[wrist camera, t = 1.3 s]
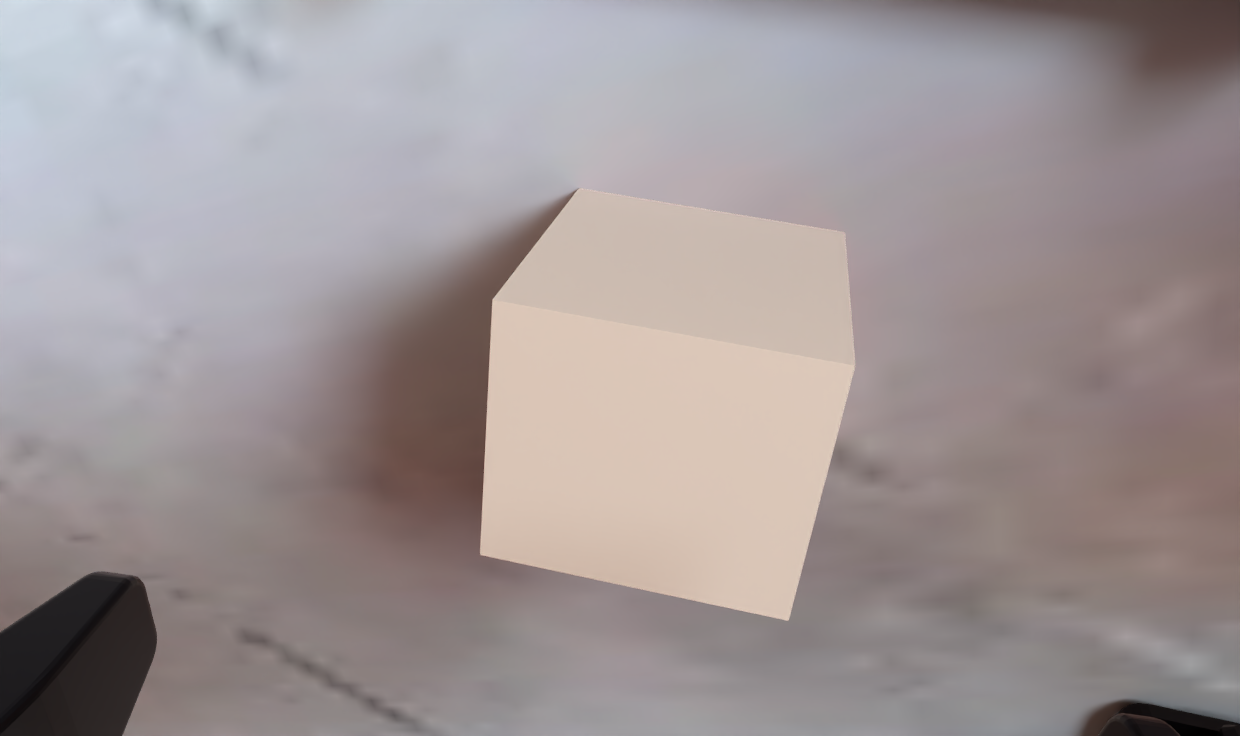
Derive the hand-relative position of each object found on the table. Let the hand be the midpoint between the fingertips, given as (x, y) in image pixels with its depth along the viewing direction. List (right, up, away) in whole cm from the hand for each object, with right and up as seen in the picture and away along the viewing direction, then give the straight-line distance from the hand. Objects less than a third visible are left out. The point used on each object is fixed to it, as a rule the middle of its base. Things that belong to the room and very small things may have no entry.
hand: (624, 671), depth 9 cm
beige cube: (+2, +4, +12) cm, 12 cm away
